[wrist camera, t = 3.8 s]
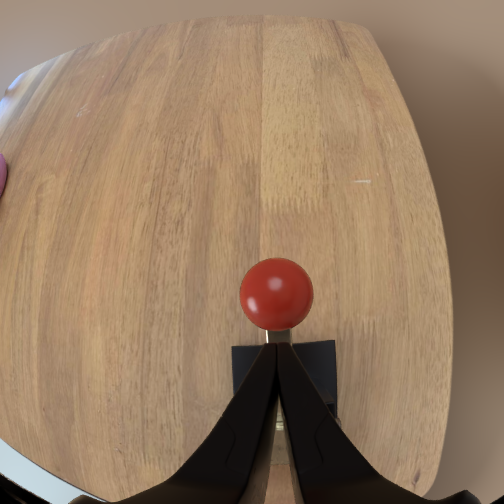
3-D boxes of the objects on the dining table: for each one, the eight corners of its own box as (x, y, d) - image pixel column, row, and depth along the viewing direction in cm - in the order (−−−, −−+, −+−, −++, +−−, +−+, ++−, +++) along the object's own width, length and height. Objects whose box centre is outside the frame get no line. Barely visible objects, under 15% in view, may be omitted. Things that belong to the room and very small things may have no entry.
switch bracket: (234, 345, 22) (197, 350, 13) (332, 339, 22) (363, 340, 12) (239, 455, 20) (210, 514, 10) (334, 451, 19) (358, 509, 9)
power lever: (241, 256, 14) (230, 265, 11) (307, 252, 14) (315, 259, 10) (258, 434, 15) (254, 470, 12) (311, 432, 15) (315, 467, 11)
